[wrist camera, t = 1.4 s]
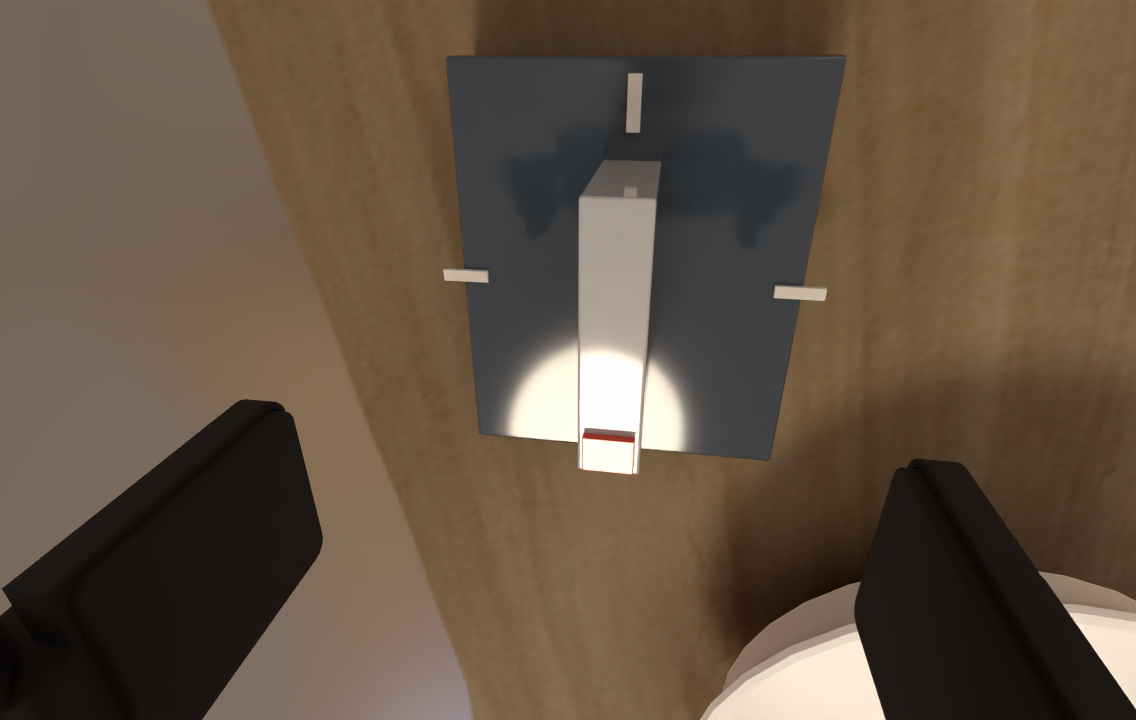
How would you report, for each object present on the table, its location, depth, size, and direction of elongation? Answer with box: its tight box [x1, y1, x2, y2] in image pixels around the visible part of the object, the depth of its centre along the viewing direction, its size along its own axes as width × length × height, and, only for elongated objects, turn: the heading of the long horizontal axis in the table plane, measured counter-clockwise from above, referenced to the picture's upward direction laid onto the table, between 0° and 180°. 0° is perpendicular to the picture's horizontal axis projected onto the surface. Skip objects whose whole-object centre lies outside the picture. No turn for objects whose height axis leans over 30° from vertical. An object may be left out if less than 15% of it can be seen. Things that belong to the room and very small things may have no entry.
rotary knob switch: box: [443, 54, 846, 461], centre depth 19 cm, size 12×11×3 cm
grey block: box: [577, 160, 662, 475], centre depth 16 cm, size 7×2×5 cm, turn 0°
